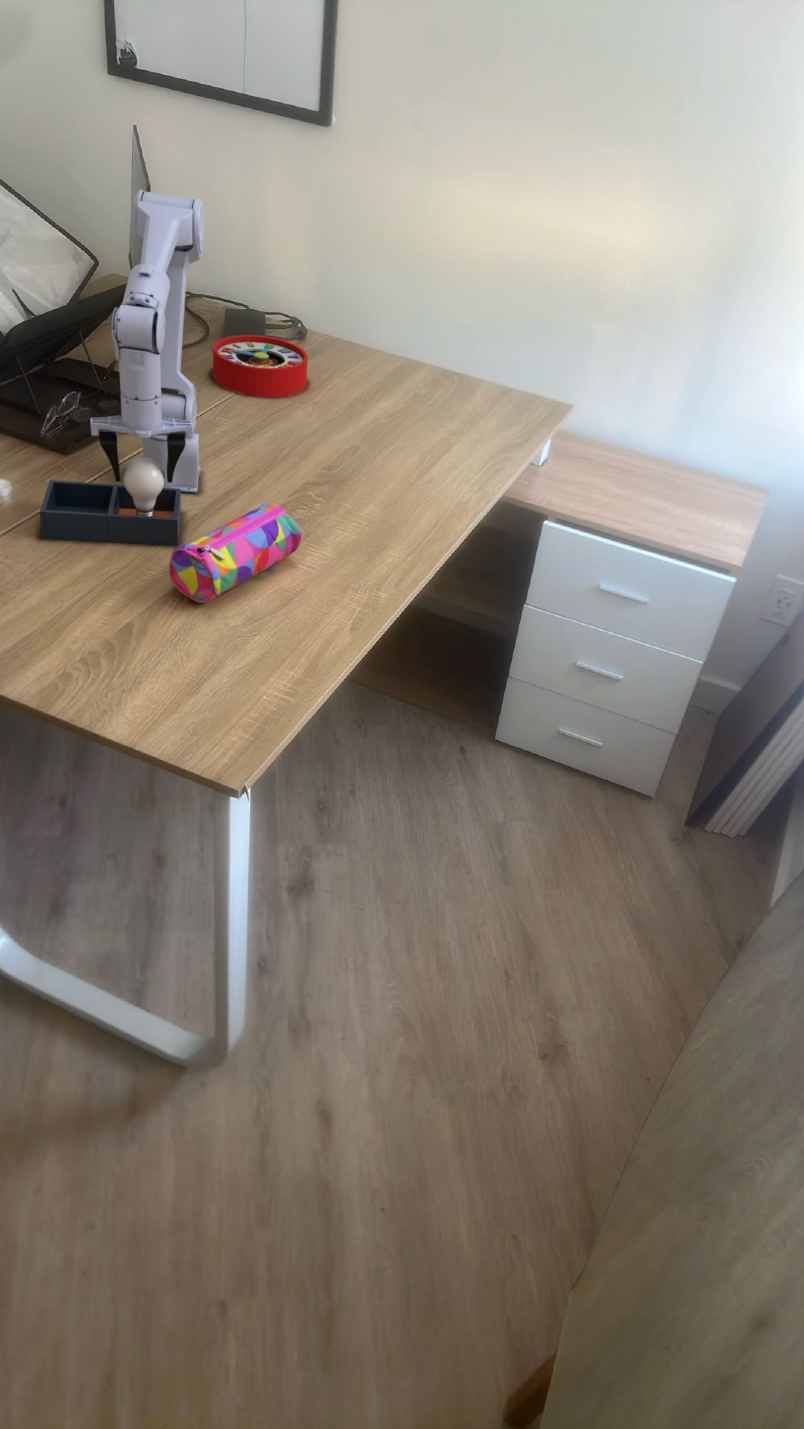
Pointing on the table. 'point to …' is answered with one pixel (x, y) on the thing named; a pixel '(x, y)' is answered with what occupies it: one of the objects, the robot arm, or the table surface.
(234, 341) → the toy clock
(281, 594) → the table surface
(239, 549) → the pencil case
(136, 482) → the lightbulb
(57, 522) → the organiser
